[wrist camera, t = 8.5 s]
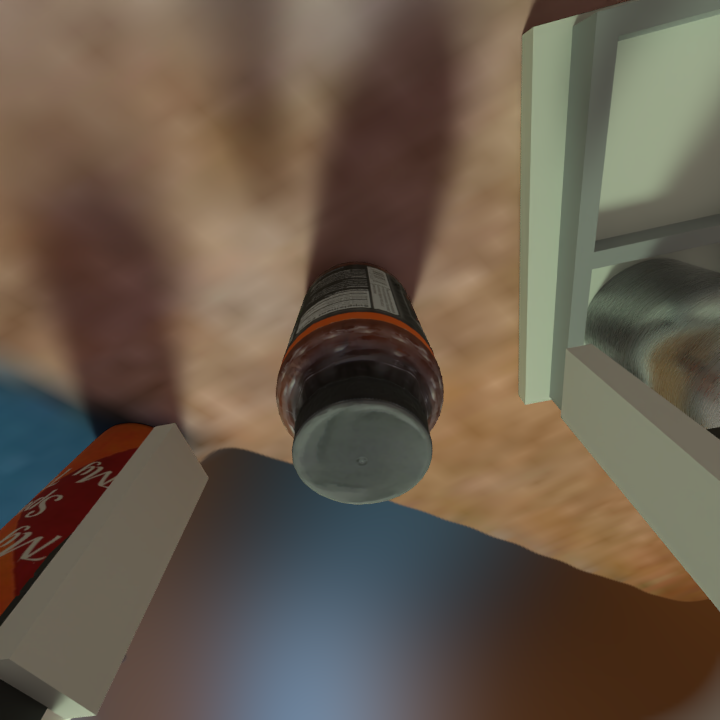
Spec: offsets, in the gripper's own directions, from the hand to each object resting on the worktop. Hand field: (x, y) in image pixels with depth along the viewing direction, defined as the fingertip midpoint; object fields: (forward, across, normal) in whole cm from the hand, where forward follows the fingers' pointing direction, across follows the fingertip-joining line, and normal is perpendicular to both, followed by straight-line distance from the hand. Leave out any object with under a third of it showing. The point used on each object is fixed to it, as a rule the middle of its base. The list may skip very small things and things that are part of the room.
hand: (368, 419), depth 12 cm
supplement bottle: (+9, 0, 0) cm, 9 cm away
